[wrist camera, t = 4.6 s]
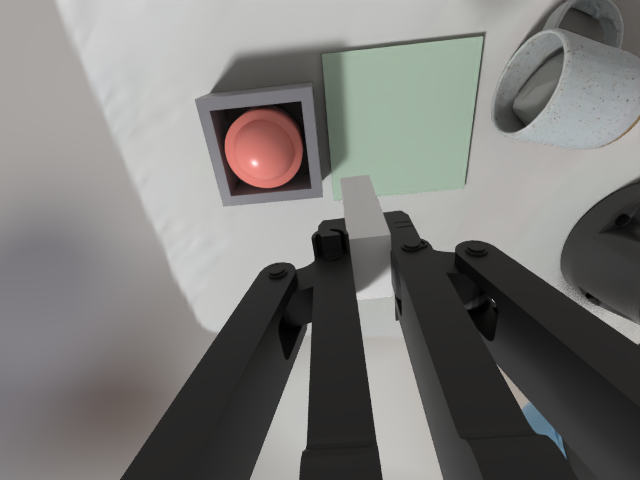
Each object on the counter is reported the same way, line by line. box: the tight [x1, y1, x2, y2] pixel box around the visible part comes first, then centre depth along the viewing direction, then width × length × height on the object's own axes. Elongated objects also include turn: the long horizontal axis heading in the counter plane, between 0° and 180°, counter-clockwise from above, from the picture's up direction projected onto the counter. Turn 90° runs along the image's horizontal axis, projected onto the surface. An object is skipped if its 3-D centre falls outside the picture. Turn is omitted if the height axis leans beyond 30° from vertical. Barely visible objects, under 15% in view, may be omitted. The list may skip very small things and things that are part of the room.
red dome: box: [225, 105, 304, 188], centre depth 28 cm, size 6×6×5 cm
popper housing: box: [195, 82, 323, 207], centre depth 29 cm, size 9×9×4 cm
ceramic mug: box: [491, 0, 640, 149], centre depth 25 cm, size 11×8×8 cm
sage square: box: [322, 36, 483, 200], centre depth 30 cm, size 13×13×1 cm
